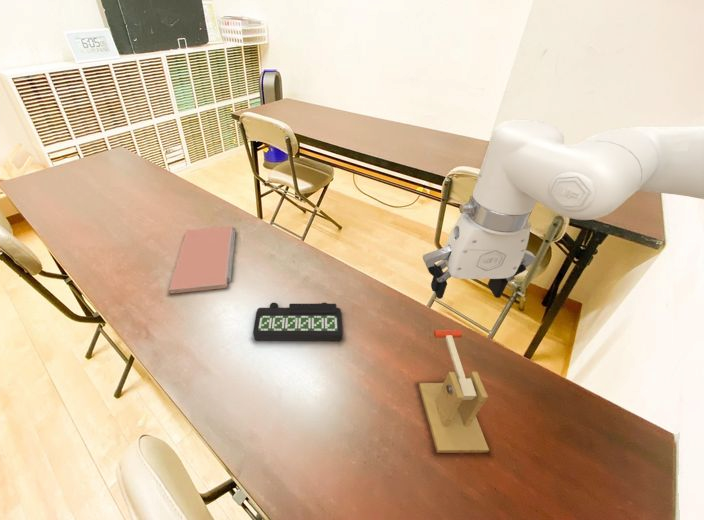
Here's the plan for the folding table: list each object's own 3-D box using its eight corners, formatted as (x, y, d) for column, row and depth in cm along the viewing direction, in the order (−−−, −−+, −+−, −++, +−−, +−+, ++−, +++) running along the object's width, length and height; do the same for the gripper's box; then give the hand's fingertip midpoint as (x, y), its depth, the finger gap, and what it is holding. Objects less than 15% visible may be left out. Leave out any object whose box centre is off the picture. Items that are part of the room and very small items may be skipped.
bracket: (418, 385, 68) (430, 352, 60) (461, 385, 68) (479, 351, 60) (436, 452, 58) (454, 422, 51) (487, 452, 58) (512, 422, 50)
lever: (432, 333, 65) (435, 327, 63) (457, 332, 64) (461, 327, 63) (451, 400, 56) (455, 396, 55) (480, 399, 56) (485, 395, 54)
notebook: (230, 287, 91) (229, 283, 90) (170, 294, 90) (168, 289, 89) (236, 229, 113) (235, 224, 112) (187, 233, 112) (186, 229, 111)
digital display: (339, 299, 83) (342, 334, 75) (339, 307, 85) (342, 342, 77) (258, 299, 84) (252, 334, 76) (259, 307, 85) (254, 341, 78)
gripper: (444, 228, 43) (420, 310, 53) (577, 225, 42) (527, 308, 52) (427, 197, 49) (409, 276, 59) (543, 195, 48) (505, 275, 58)
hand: (465, 291), depth 56 cm, fingers open, 9 cm apart
